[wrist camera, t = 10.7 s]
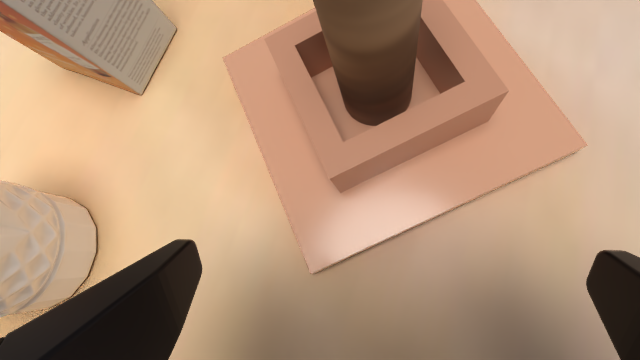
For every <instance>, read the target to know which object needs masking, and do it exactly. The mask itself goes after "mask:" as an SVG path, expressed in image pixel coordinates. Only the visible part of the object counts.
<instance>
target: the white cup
mask: <svg viewBox="0 0 640 360" xmlns="http://www.w3.org/2000/svg"><path fill="white" fill-rule="evenodd" d="M95 254H96V227H95V225H94V222H93V220H92V218H91V216H90V214H89V212H88V210H87V209H86V208H84V207H83V206H81V205H80V204H78V203H76V202H75V201H73V200H71V199H69V198H65V197H61V196H57V195H52V194H48V193H44V192H39V191H36V190H33V189H31V188H28V187H25V186H22V185H18V184H15V183H11V182H6V181H1V180H0V317H3V316H6V315H12V314H18V313H24V312H29V311H35V310H41V309H46V308H50V307H52V306H54V305H56V304H58V303H60V302H62V301H63V300H65V299H67V298H69V297H71V296H72V295H73V294H74V292H75V291H76V290H77V289H78V287H79V286H80V285H81V284H82V283H83V281H84V280H85V279H86V278H87V276H88V274H89V271H90V268H91V266H92V263H93V260H94V257H95Z"/></svg>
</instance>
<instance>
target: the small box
mask: <svg viewBox="0 0 640 360" xmlns="http://www.w3.org/2000/svg"><path fill="white" fill-rule="evenodd" d="M0 31H1V32H3V33H4V34H6V35H8V36H9V37H11V38H13V39H14V40H16V41H18V42H20V43H21V44H23V45H25V46H26V47H28V48H29V49H31V50H33V51H34V52H36V53H38V54H40V55H41V56H43V57H45V58H46V59H48V60H50V61H51V62H53V63H55V64H56V65H58V66H60V67H62V68H64V69H68V70H71V71H74V72H77V73H80V74H83V75H86V76H89V77H92V78H95V79H97V80H100V81H102V82H105V83H108V84H111V85H113V86H116V87H119V88H122V89H125V90H127V91H130V92H133V93H135V94H138V95H141V94H142V93H143V91H144V89H145V88H146V86H147V84H148V82H149V80H150V78H151V76H152V74H153V72H154V70H155V68H156V67H157V65H158V63H159V61H160V59H161V57H162V56H163V54H164V52H165V50H166V48H167V46H168V44H169V43H170V41H171V39H172V37H173V35H174V33H175V31H176V27H175V25H174V24H173V23H172V22H171V21H170V20H169V19H168V18H167V17H166V16H165V14H164V13H163V12H162V11H161V10H160V9H159V8H158V7H157V6H156V4H155V3H154V2H153V1H152V0H0Z"/></svg>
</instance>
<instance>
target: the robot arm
mask: <svg viewBox="0 0 640 360" xmlns="http://www.w3.org/2000/svg"><path fill="white" fill-rule="evenodd" d="M201 274H202V264H201V260H200V257H199V253H198V250H197V247H196V244H195V242H194V241H193V240H187V239H177V240H174V241H172V242H171V243H169V244H167V245H165V246H164V247H162V248H160V249H158V250H156V251H155V252H153V253H151V254H149V255H148V256H146V257H144V258H142V259H140V260H139V261H137V262H135V263H133V264H132V265H130V266H128V267H126V268H124V269H123V270H121V271H119V272H117V273H116V274H114V275H112V276H110V277H108V278H107V279H105V280H103V281H101V282H99V283H98V284H96V285H94V286H92V287H91V288H89V289H87V290H85V291H83V292H82V293H80V294H78V295H76V296H75V297H73V298H71V299H69V300H67V301H66V302H64V303H62V304H60V305H59V306H57V307H55V308H53V309H51V310H50V311H48V312H46V313H44V314H42V315H41V316H39V317H37V318H35V319H34V320H32V321H30V322H28V323H26V324H25V325H23V326H21V327H19V328H18V329H16V330H14V331H12V332H10V333H9V334H7V335H6V337H2V338H0V360H168V359H169V357H170V355H171V353H172V350H173V348H174V346H175V344H176V342H177V340H178V337H179V335H180V333H181V330H182V328H183V325H184V323H185V320H186V317H187V314H188V311H189V308H190V306H191V303H192V300H193V297H194V294H195V292H196V289H197V286H198V283H199V280H200V278H201ZM586 285H587V290H588V293H589V295H590V297H591V299H592V301H593V303H594V305H595V307H596V309H597V311H598V314H599V316H600V318H601V320H602V322H603V324H604V326H605V328H606V330H607V332H608V334H609V337H610V339H611V341H612V343H613V345H614V347H615V349H616V351H617V353H618V355H619V357H620V359H621V360H640V258H639V257H637V256H635V255H633V254H631V253H629V252H626V251H620V250H603V251H600V252H599V253H598V254H597V256H596V258H595V260H594V263H593V265H592V267H591V270H590V272H589V275H588V277H587V281H586Z"/></svg>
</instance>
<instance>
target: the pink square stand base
mask: <svg viewBox="0 0 640 360" xmlns="http://www.w3.org/2000/svg"><path fill="white" fill-rule="evenodd" d="M223 60H224V62H225V65H226V67H227V70H228V72H229V75H230V77H231V80H232V82H233V84H234V87H235V89H236V92H237V94H238V97H239V99H240V102H241V104H242V107H243V109H244V112H245V114H246V116H247V119H248V121H249V124H250V126H251V129H252V131H253V134H254V136H255V139H256V141H257V143H258V146H259V148H260V151H261V153H262V156H263V158H264V161H265V163H266V166H267V168H268V171H269V173H270V175H271V178H272V180H273V183H274V185H275V188H276V190H277V193H278V195H279V198H280V200H281V202H282V205H283V207H284V210H285V212H286V215H287V217H288V220H289V222H290V225H291V227H292V230H293V232H294V234H295V237H296V239H297V242H298V244H299V247H300V249H301V252H302V254H303V257H304V259H305V261H306V264H307V266H308V269H309V271H310V274H314V273H317V272H319V271H321V270H323V269H326V268H328V267H330V266H332V265H334V264H336V263H338V262H341V261H343V260H345V259H347V258H349V257H351V256H354V255H356V254H358V253H360V252H362V251H364V250H366V249H369V248H371V247H373V246H375V245H377V244H379V243H381V242H384V241H386V240H388V239H390V238H392V237H394V236H397V235H399V234H401V233H403V232H405V231H407V230H409V229H412V228H414V227H416V226H418V225H420V224H422V223H424V222H427V221H429V220H431V219H433V218H435V217H437V216H440V215H442V214H444V213H446V212H448V211H450V210H452V209H455V208H457V207H459V206H461V205H463V204H465V203H467V202H470V201H472V200H474V199H476V198H478V197H480V196H483V195H485V194H487V193H489V192H491V191H493V190H495V189H498V188H500V187H502V186H504V185H506V184H508V183H510V182H513V181H515V180H517V179H519V178H521V177H523V176H526V175H528V174H530V173H532V172H534V171H536V170H538V169H541V168H543V167H545V166H547V165H549V164H551V163H553V162H556V161H558V160H560V159H562V158H564V157H566V156H569V155H571V154H573V153H575V152H577V151H579V150H580V149H582V148H584V147H585V146H587V144H586V142H585V141H584V140H583V138H582V137H581V136H580V134H579V133H578V132H577V131H576V129H575V128H574V127H573V125H572V124H571V123H570V122H569V120H568V119H567V118H566V116H565V115H564V114H563V112H562V111H561V110H560V109H559V107H558V106H557V105H556V103H555V102H554V101H553V100H552V98H551V97H550V96H549V94H548V93H547V92H546V90H545V89H544V88H543V87H542V85H541V84H540V83H539V81H538V80H537V79H536V78H535V76H534V75H533V74H532V72H531V71H530V70H529V69H528V67H527V66H526V65H525V63H524V62H523V61H522V59H521V58H520V57H519V56H518V54H517V53H516V52H515V50H514V49H513V48H512V47H511V45H510V44H509V43H508V41H507V40H506V39H505V37H504V36H503V35H502V34H501V32H500V31H499V30H498V28H497V27H496V26H495V25H494V23H493V22H492V21H491V19H490V18H489V17H488V15H487V14H486V13H485V12H484V10H483V9H482V8H481V6H480V5H479V4H478V3H477V1H476V0H423V2H422V11H421V19H420V28H419V37H418V45H417V54H416V63H415V71H414V80H413V89H412V97H411V101H410V104H409V106H408V108H407V110H406V111H405V112H403V113H401V114H399V115H397V116H395V117H393V118H391V119H389V120H387V121H385V122H383V123H381V124H379V125H377V126H370V125H365V124H362V123H360V122H358V121H356V120H355V119H354V118H352V117H351V116H350V114H349V113H348V112H347V110H346V108H345V105H344V102H343V98H342V95H341V92H340V88H339V85H338V82H337V78H336V75H335V72H334V68H333V65H332V62H331V58H330V55H329V52H328V48H327V45H326V42H325V38H324V35H323V32H322V28H321V25H320V22H319V18H318V15H317V12H316V8H313V9H311V10H310V11H308V12H306V13H304V14H302V15H300V16H299V17H297V18H295V19H293V20H291V21H289V22H288V23H286V24H284V25H282V26H280V27H278V28H276V29H275V30H273V31H271V32H269V33H267V34H265V35H264V36H262V37H260V38H258V39H256V40H254V41H253V42H251V43H249V44H247V45H245V46H243V47H242V48H240V49H238V50H236V51H234V52H232V53H231V54H229V55H227V56H225V57H223Z"/></svg>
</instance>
